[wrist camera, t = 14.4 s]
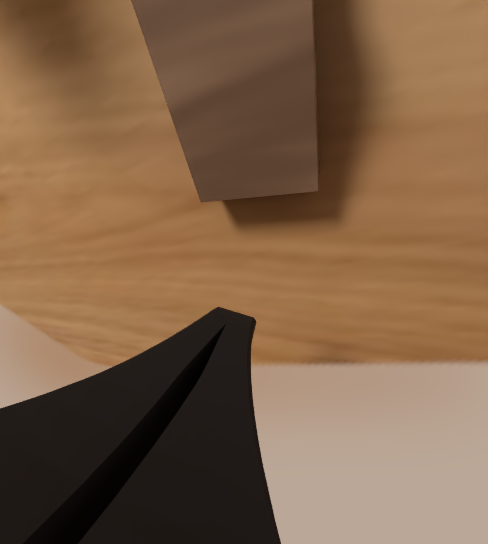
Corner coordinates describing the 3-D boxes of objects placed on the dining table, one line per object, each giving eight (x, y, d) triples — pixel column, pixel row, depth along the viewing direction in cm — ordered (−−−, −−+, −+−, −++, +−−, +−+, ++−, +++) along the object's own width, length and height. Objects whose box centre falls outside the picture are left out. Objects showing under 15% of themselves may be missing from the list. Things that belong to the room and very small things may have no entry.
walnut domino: (318, 191, 10) (305, -192, 5) (201, 202, 12) (101, -87, 7) (319, 172, 12) (309, -151, 7) (213, 184, 13) (137, -70, 8)
